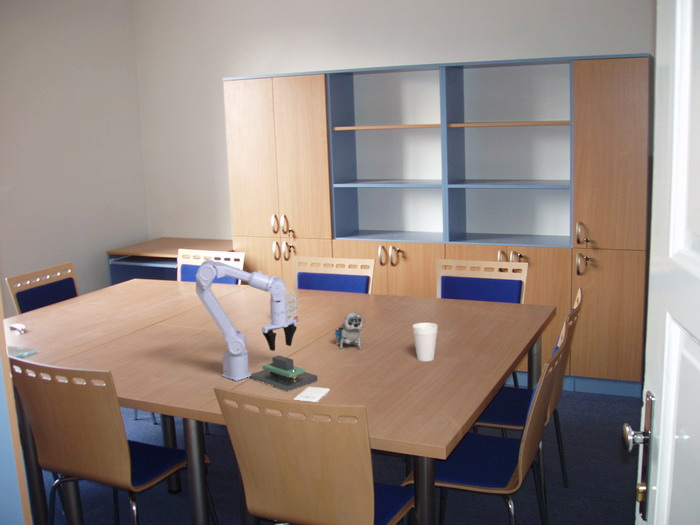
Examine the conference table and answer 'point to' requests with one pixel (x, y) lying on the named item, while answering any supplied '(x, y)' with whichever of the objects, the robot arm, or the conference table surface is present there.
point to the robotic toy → (350, 330)
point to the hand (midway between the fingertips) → (280, 347)
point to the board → (283, 372)
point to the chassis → (284, 379)
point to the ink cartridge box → (291, 306)
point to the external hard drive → (312, 394)
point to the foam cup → (425, 340)
